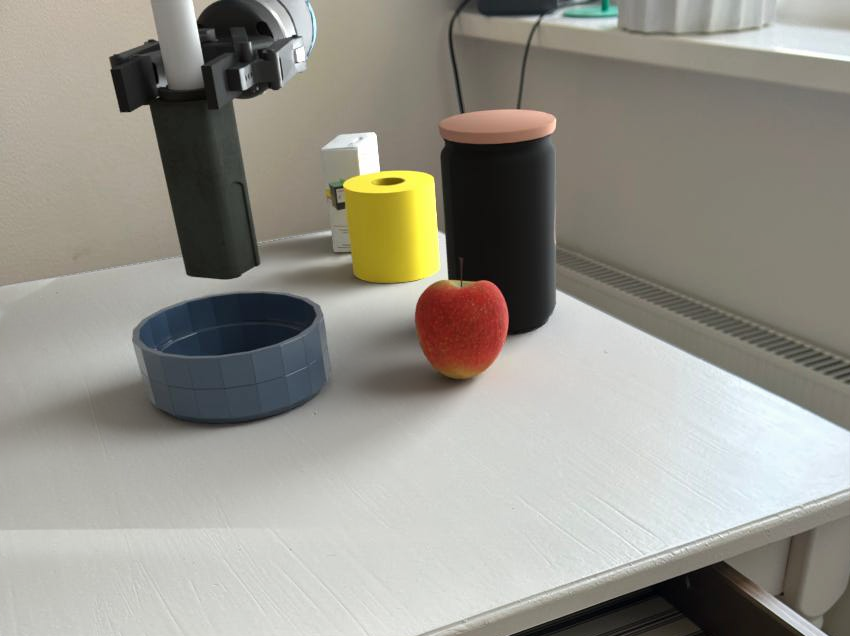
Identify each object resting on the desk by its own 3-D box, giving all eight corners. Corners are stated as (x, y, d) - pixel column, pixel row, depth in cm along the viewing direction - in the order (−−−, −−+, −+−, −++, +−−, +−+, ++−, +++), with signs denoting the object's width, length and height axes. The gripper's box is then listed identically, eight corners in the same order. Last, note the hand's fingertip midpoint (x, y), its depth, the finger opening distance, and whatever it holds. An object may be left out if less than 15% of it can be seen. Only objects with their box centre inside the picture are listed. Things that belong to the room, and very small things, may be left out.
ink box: (349, 232, 126) (337, 131, 119) (387, 232, 125) (377, 131, 118) (332, 253, 119) (318, 147, 112) (371, 253, 119) (359, 146, 112)
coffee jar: (577, 319, 98) (580, 119, 87) (490, 346, 93) (481, 137, 82) (515, 293, 105) (510, 104, 94) (430, 316, 100) (415, 121, 89)
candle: (233, 281, 79) (159, -108, 64) (180, 276, 81) (95, -105, 65) (265, 261, 83) (203, -110, 67) (214, 257, 84) (142, -107, 69)
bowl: (124, 429, 82) (104, 360, 79) (181, 355, 95) (166, 293, 91) (313, 425, 81) (301, 356, 77) (345, 351, 94) (336, 288, 90)
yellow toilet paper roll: (445, 255, 117) (440, 169, 111) (432, 282, 109) (426, 192, 103) (363, 256, 118) (354, 171, 112) (345, 283, 110) (333, 193, 104)
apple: (406, 388, 86) (395, 273, 80) (437, 353, 92) (429, 244, 86) (493, 396, 84) (488, 278, 78) (519, 360, 90) (517, 248, 84)
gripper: (354, 89, 89) (303, 144, 71) (153, 96, 90) (52, 151, 72) (344, -10, 84) (287, 22, 66) (132, -1, 86) (19, 32, 67)
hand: (165, 89), depth 69 cm, fingers closed on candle, 6 cm apart
